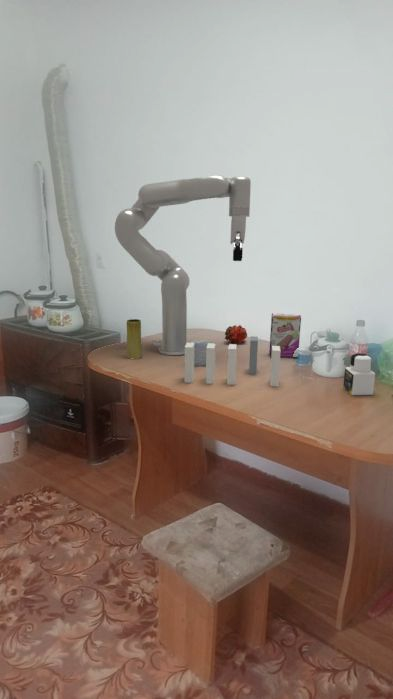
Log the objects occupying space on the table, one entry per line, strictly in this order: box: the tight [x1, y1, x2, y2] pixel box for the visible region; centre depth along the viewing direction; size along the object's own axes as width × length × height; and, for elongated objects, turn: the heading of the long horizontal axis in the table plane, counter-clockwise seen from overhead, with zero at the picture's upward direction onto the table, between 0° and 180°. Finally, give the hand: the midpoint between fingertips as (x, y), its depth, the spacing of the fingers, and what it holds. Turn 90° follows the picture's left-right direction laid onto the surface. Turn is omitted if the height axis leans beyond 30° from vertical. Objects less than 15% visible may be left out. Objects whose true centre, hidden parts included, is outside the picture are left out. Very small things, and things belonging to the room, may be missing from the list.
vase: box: [125, 318, 143, 359], centre depth 196 cm, size 6×6×14 cm
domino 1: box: [184, 342, 195, 384], centre depth 171 cm, size 2×6×12 cm, turn 174°
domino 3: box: [226, 343, 238, 386], centre depth 169 cm, size 2×6×12 cm, turn 174°
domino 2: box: [205, 342, 216, 385], centre depth 170 cm, size 2×6×12 cm, turn 174°
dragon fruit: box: [224, 324, 248, 344], centre depth 220 cm, size 8×8×12 cm
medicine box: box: [188, 339, 213, 367], centre depth 188 cm, size 8×4×9 cm, turn 107°
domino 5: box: [269, 346, 281, 388], centre depth 168 cm, size 2×6×12 cm, turn 174°
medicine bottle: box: [343, 352, 376, 396], centre depth 161 cm, size 7×7×12 cm
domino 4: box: [248, 335, 259, 375], centre depth 180 cm, size 2×6×12 cm, turn 174°
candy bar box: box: [268, 312, 302, 358], centre depth 199 cm, size 11×5×16 cm, turn 84°
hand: (237, 259), depth 194 cm, fingers open, 9 cm apart
